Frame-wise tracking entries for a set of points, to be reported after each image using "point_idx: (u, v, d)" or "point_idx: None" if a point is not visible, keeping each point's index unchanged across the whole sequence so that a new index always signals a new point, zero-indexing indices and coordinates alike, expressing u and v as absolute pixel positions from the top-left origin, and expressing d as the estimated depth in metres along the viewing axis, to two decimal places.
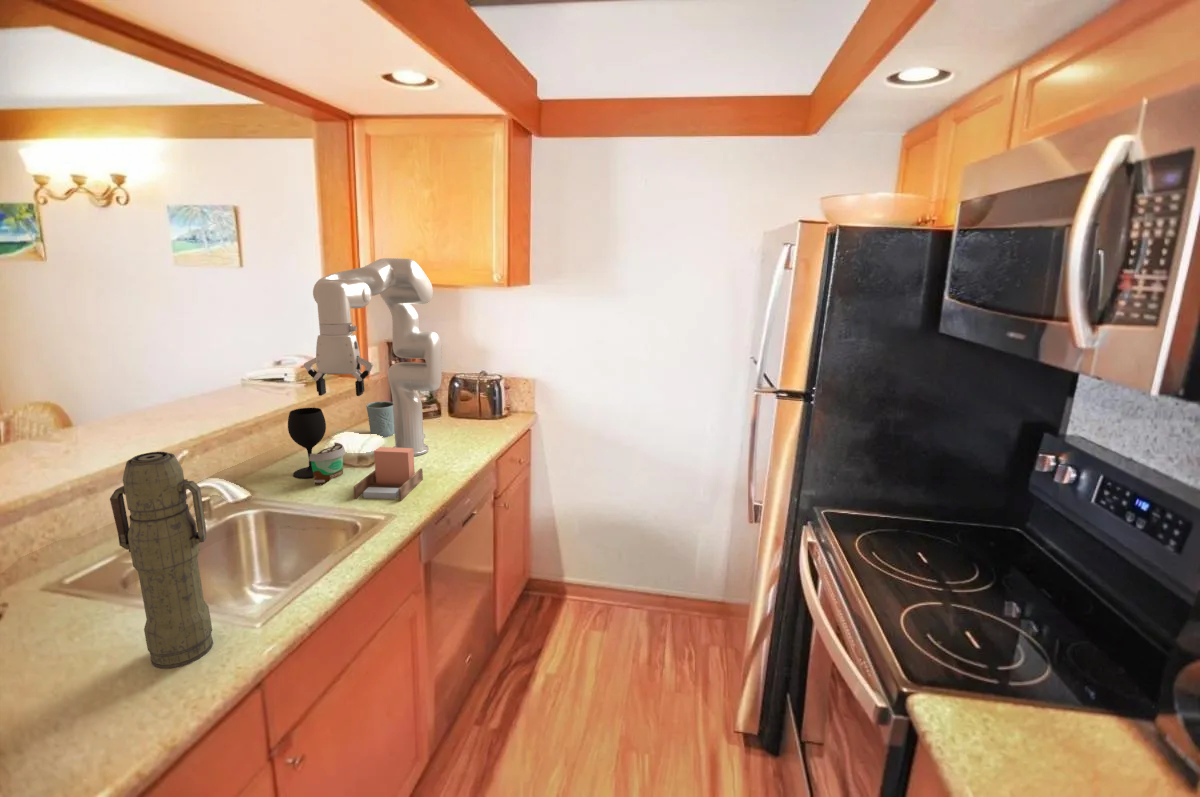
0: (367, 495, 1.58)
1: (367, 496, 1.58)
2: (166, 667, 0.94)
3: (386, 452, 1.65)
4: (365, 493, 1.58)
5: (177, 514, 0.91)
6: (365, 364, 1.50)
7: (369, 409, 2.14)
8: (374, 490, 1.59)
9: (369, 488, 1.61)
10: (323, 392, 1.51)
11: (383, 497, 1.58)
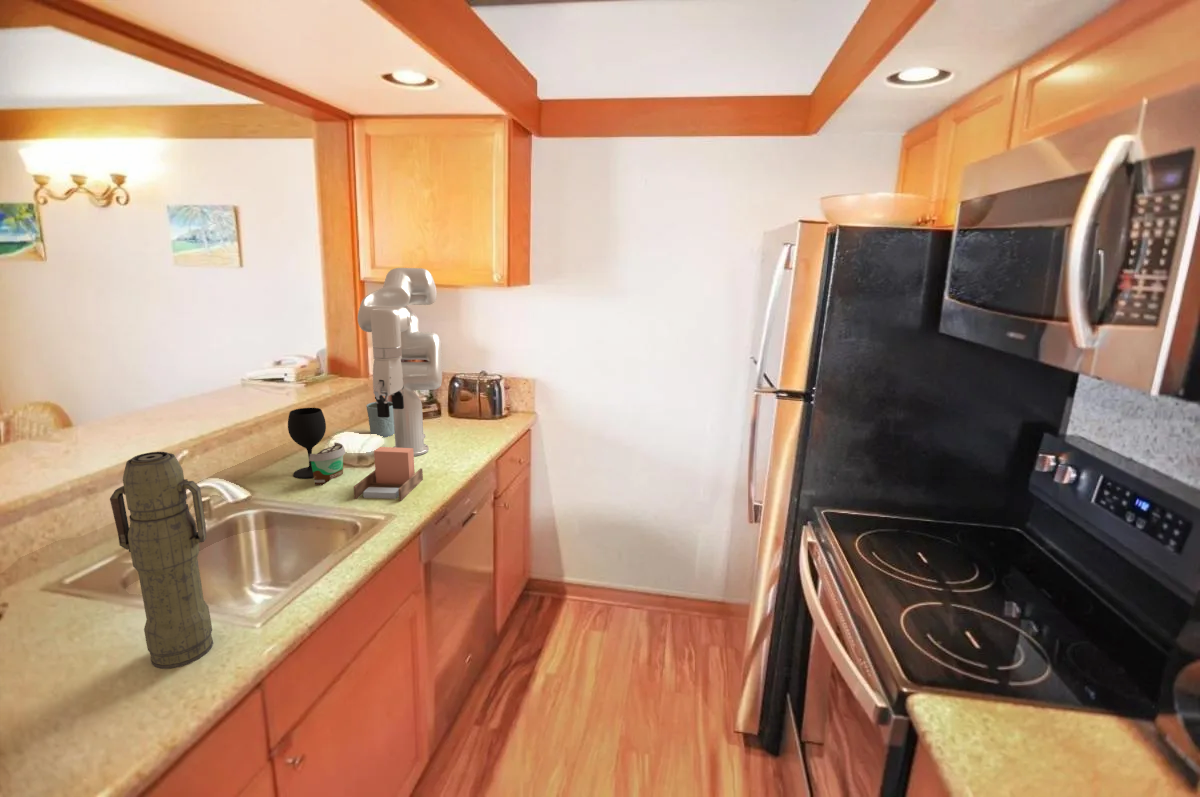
0: (367, 495, 1.59)
1: (367, 496, 1.59)
2: (166, 667, 0.94)
3: (386, 452, 1.65)
4: (365, 493, 1.58)
5: (177, 514, 0.91)
6: None
7: (369, 409, 2.14)
8: (374, 490, 1.60)
9: (369, 488, 1.61)
10: None
11: (383, 497, 1.59)
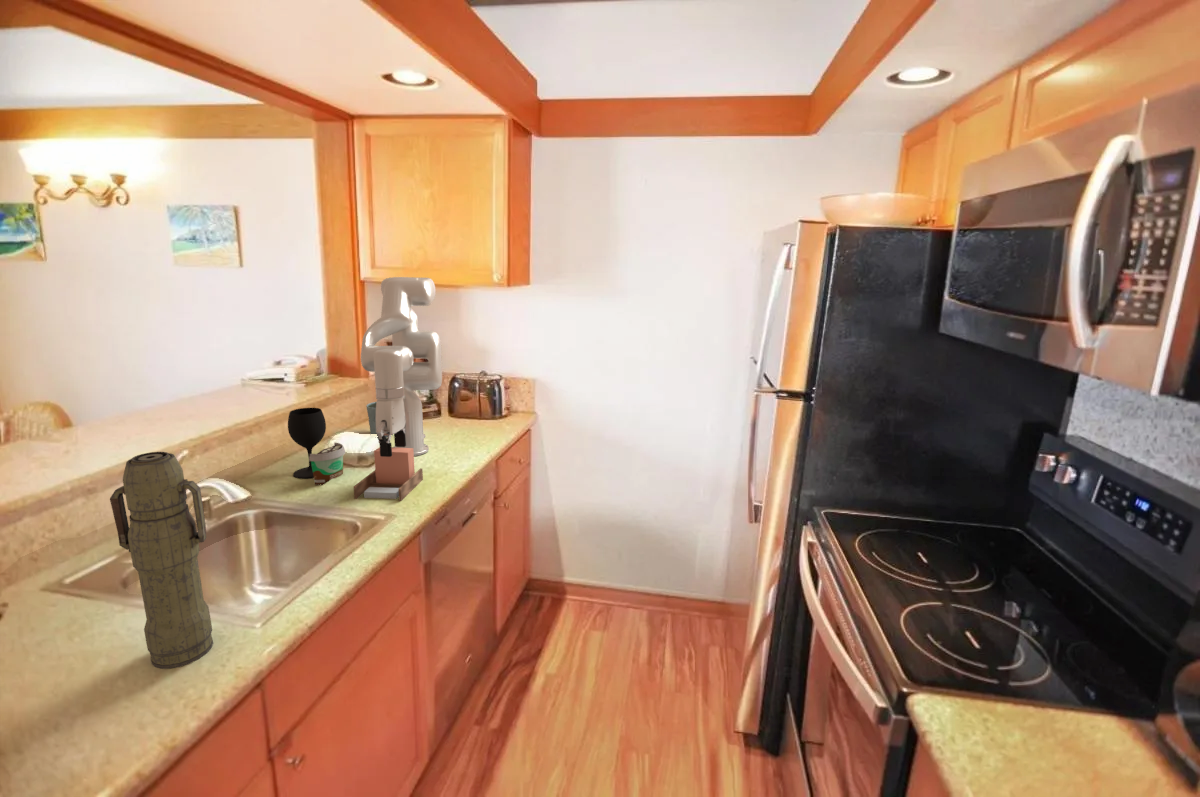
0: (368, 495, 1.58)
1: (368, 496, 1.59)
2: (166, 667, 0.94)
3: None
4: (365, 493, 1.58)
5: (177, 514, 0.91)
6: None
7: (369, 409, 2.14)
8: (374, 490, 1.60)
9: (370, 488, 1.61)
10: None
11: (384, 497, 1.59)
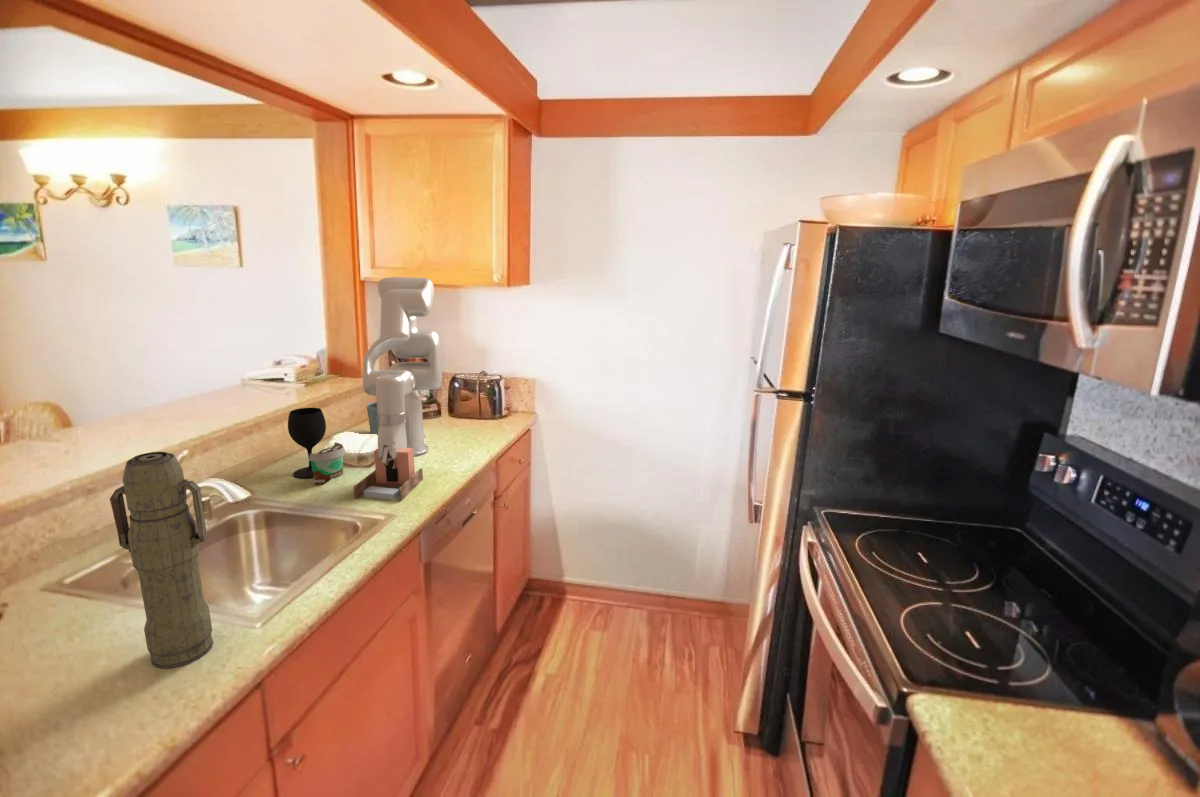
0: (367, 494, 1.59)
1: (367, 495, 1.59)
2: (166, 667, 0.94)
3: None
4: (365, 492, 1.59)
5: (177, 514, 0.91)
6: None
7: (369, 409, 2.14)
8: (374, 490, 1.60)
9: (371, 487, 1.61)
10: None
11: (381, 497, 1.58)
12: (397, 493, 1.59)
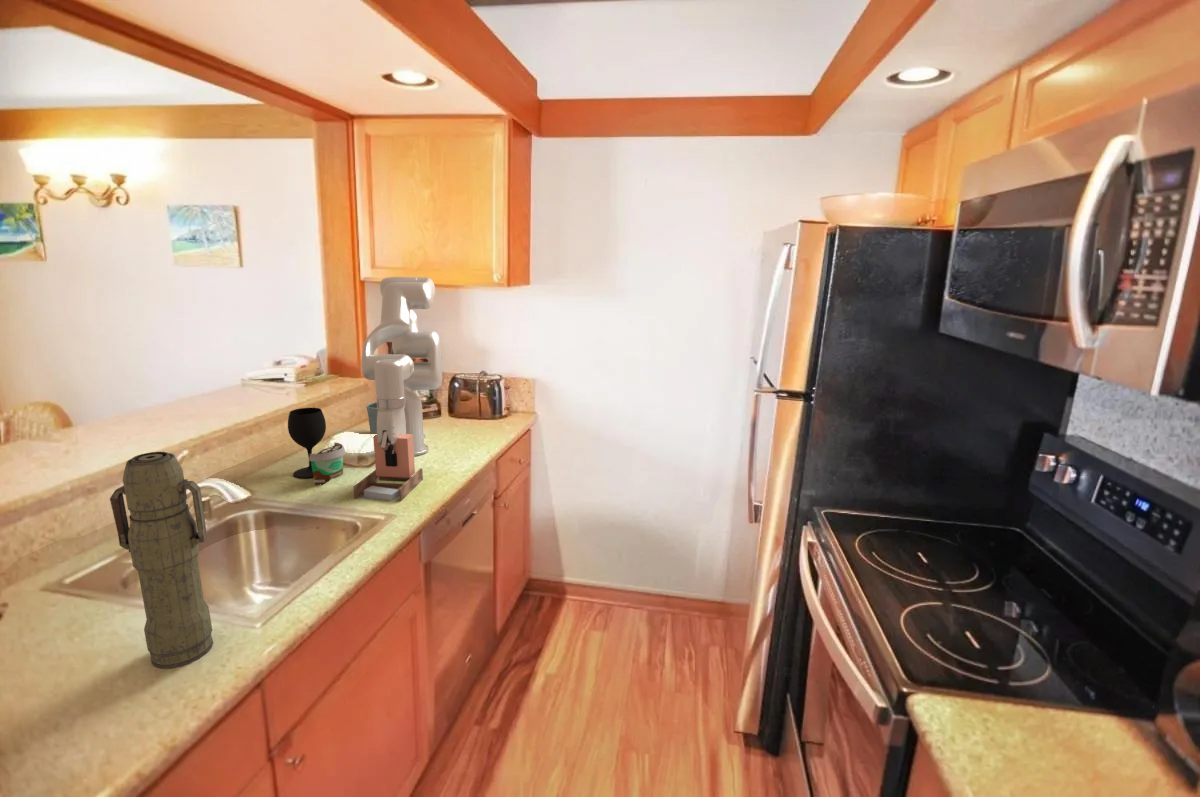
0: (367, 494, 1.59)
1: (367, 495, 1.59)
2: (166, 667, 0.94)
3: None
4: (365, 492, 1.59)
5: (177, 514, 0.91)
6: None
7: (369, 409, 2.14)
8: (374, 489, 1.60)
9: (371, 487, 1.61)
10: None
11: (381, 497, 1.58)
12: (396, 493, 1.59)
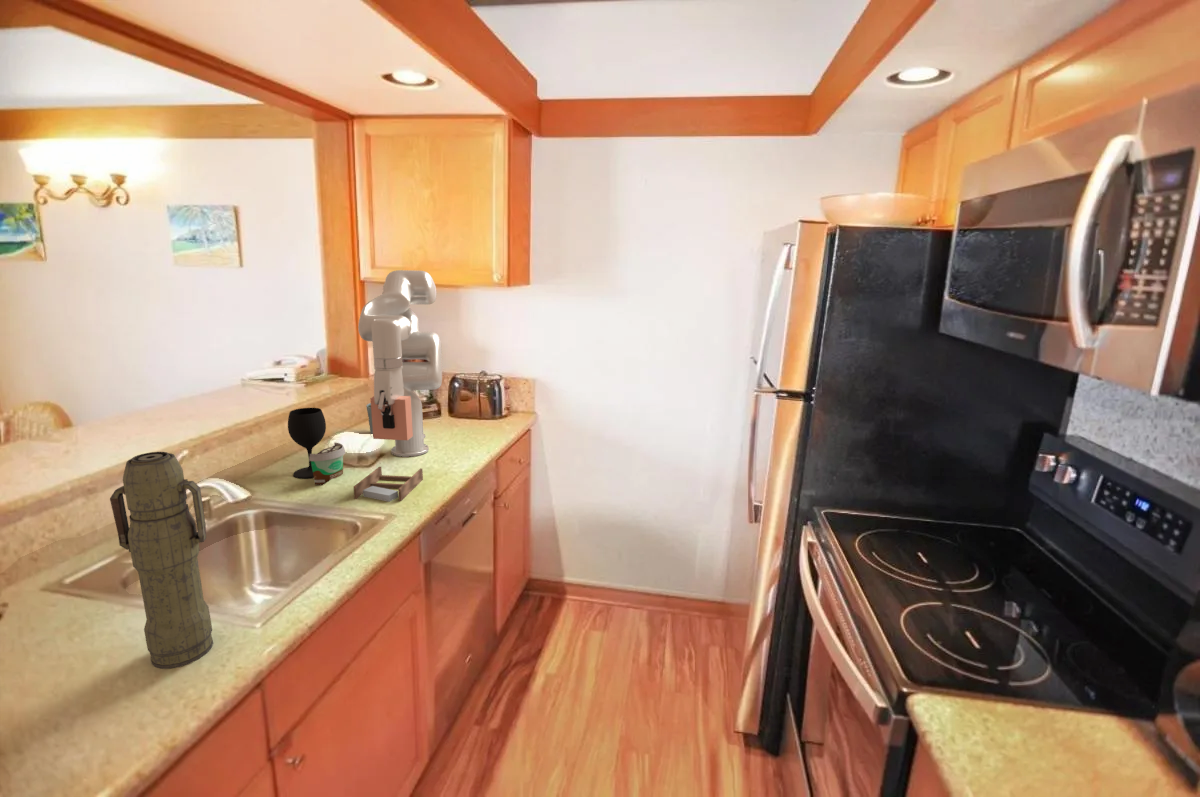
0: (366, 494, 1.59)
1: (366, 495, 1.59)
2: (166, 667, 0.94)
3: None
4: (364, 492, 1.59)
5: (177, 514, 0.91)
6: None
7: (369, 409, 2.14)
8: (373, 490, 1.60)
9: (371, 487, 1.61)
10: None
11: (379, 498, 1.58)
12: (394, 495, 1.58)
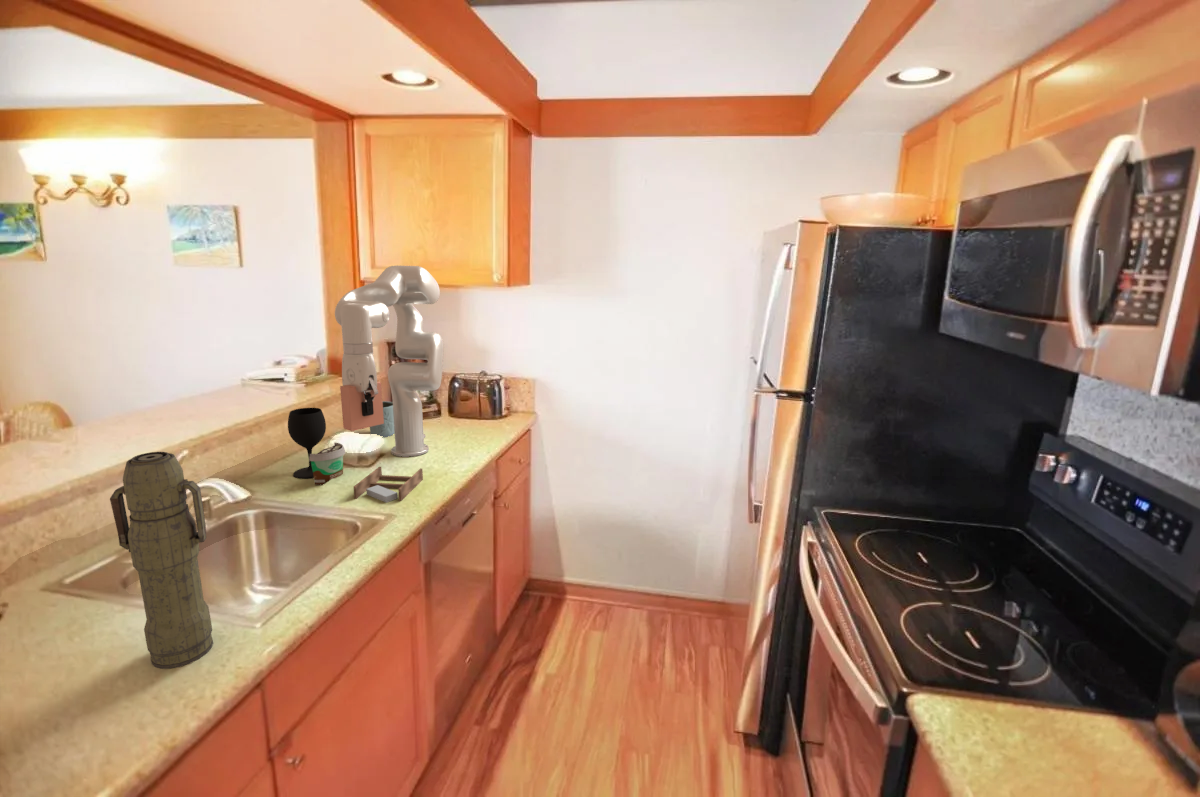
0: (368, 493, 1.60)
1: (368, 494, 1.60)
2: (166, 667, 0.94)
3: None
4: (367, 491, 1.60)
5: (177, 514, 0.91)
6: None
7: None
8: (375, 489, 1.60)
9: (376, 486, 1.62)
10: None
11: (378, 498, 1.58)
12: (393, 496, 1.57)
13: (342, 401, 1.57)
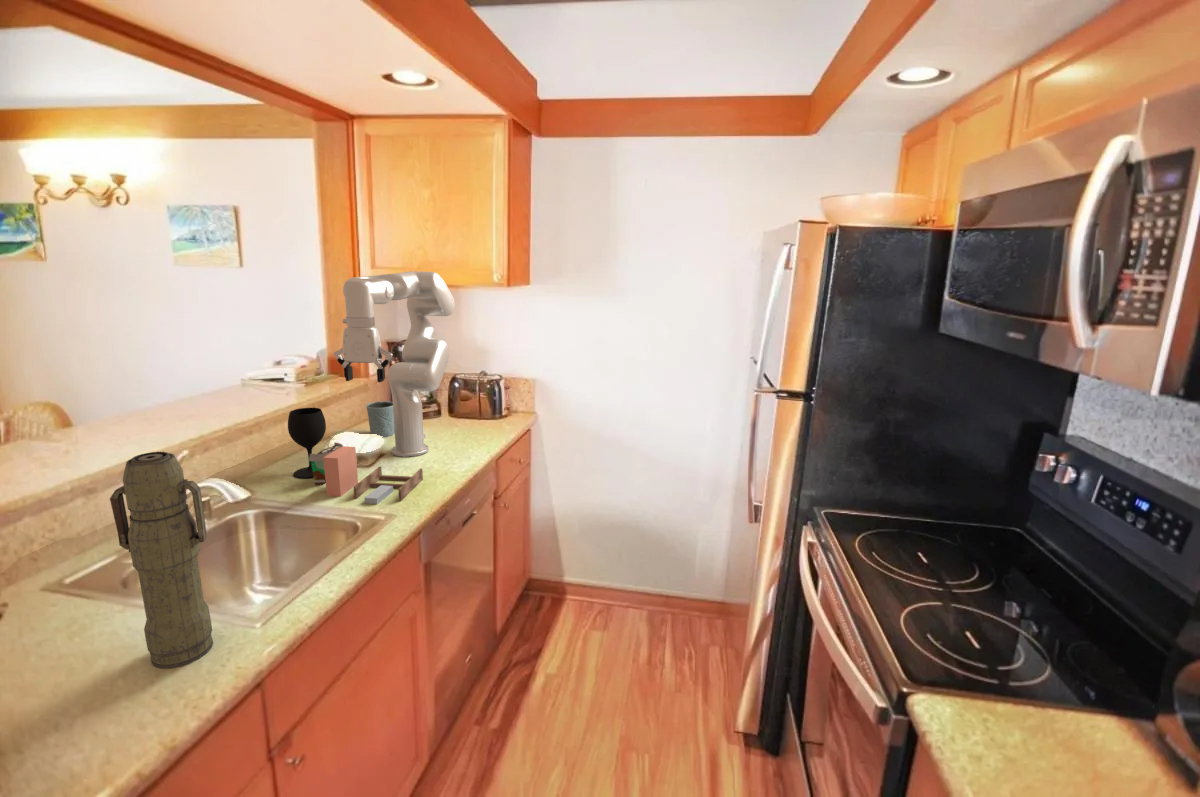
0: None
1: None
2: (166, 667, 0.94)
3: (344, 454, 1.60)
4: None
5: (177, 514, 0.91)
6: None
7: (369, 409, 2.14)
8: (380, 488, 1.61)
9: (388, 486, 1.62)
10: None
11: None
12: (372, 500, 1.55)
13: (327, 472, 1.58)
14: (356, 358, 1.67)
